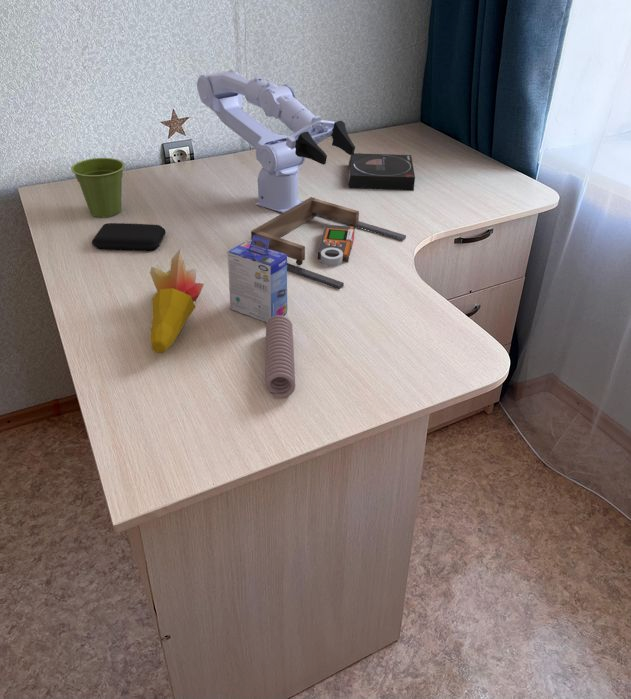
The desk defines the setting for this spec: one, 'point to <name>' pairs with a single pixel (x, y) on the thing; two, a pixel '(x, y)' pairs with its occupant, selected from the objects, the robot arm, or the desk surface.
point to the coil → (280, 357)
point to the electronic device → (335, 245)
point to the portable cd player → (381, 172)
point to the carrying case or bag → (129, 237)
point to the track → (334, 282)
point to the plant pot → (101, 184)
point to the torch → (172, 301)
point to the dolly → (297, 217)
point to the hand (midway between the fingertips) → (339, 155)
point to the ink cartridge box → (257, 280)
